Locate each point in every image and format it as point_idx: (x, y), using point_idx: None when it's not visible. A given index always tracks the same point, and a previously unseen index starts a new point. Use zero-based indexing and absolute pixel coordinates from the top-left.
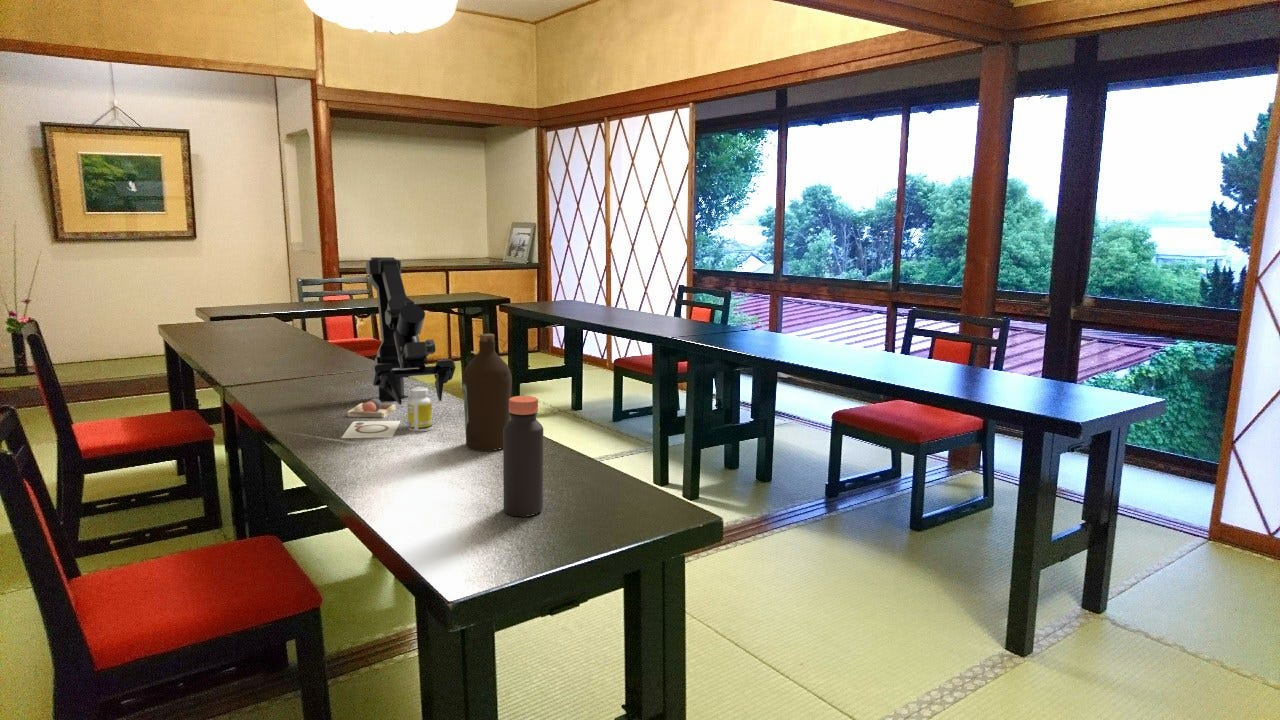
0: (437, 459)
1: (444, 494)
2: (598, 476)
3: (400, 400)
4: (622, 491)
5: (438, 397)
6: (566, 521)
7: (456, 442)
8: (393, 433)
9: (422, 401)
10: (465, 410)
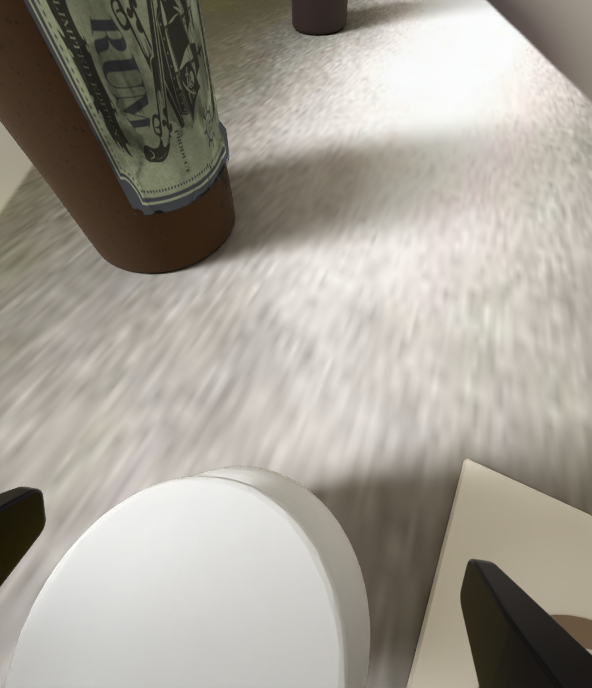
0: (355, 189)
1: (403, 72)
2: None
3: (493, 575)
4: None
5: (4, 556)
6: (290, 7)
7: (229, 287)
8: (453, 528)
9: (245, 473)
10: (206, 75)
